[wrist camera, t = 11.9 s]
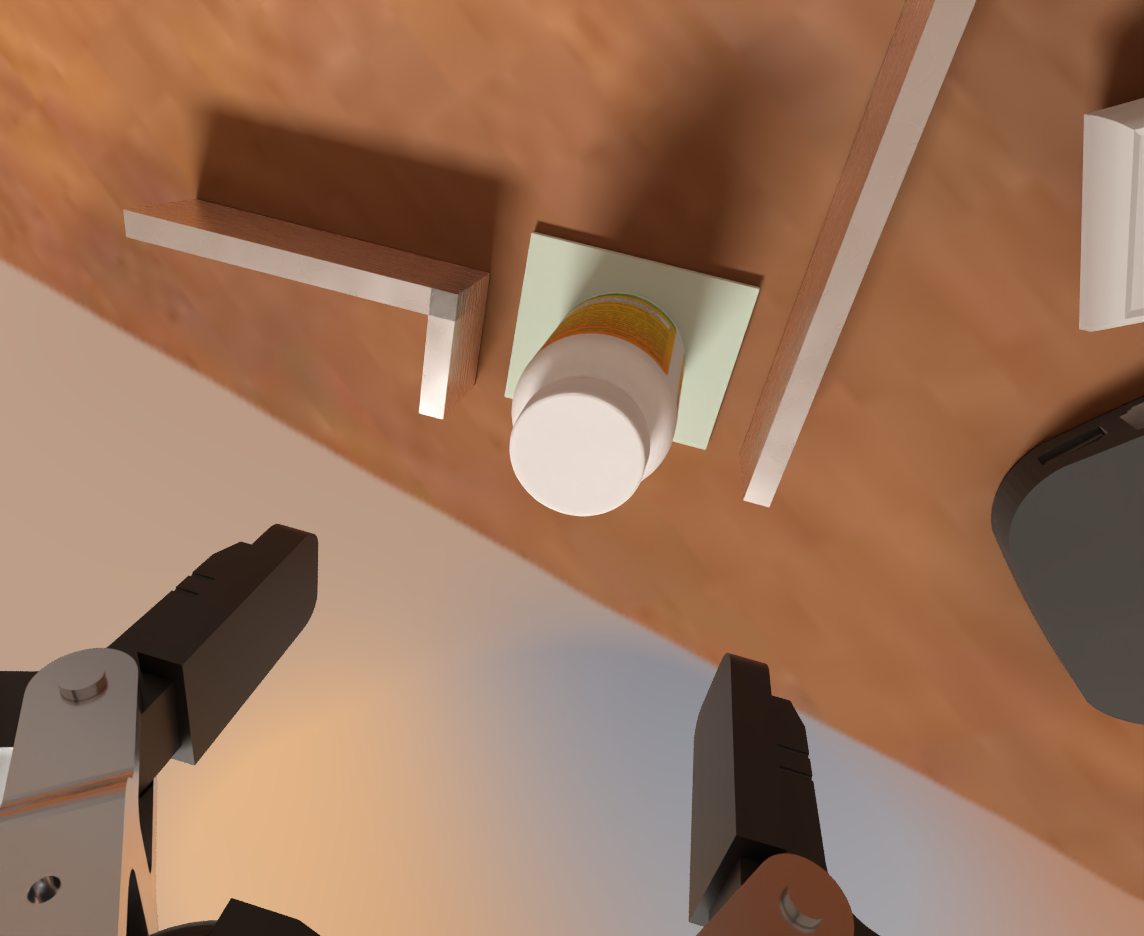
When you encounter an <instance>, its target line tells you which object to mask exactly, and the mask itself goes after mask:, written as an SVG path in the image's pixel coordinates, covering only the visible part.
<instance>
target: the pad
mask: <svg viewBox="0 0 1144 936" xmlns="http://www.w3.org/2000/svg"><path fill="white" fill-rule="evenodd" d="M759 290H760V289H759V287H757V286H753V285H749V284H745V283H741V282H737V281H733V280H729V279H725V278H720V277H716V276H712V275H708V274H704V273H700V272H696V271H692V270H688V269H684V268H680V267H676V266H672V265H668V264H664V263H660V262H656V261H651V260H647V259H643V258H639V257H635V256H631V255H627V254H623V253H619V252H615V251H611V250H607V249H603V248H599V247H595V246H591V245H586V244H582V243H578V242H574V241H570V240H566V239H562V238H558V237H554V236H550V235H546V234H542V233H538V232H532V233H531V239H530V245H529V251H528V257H527V264H526V270H525V276H524V282H523V288H522V294H521V300H520V306H519V312H518V318H517V324H516V330H515V336H514V343H513V349H512V355H511V361H510V367H509V373H508V379H507V385H506V391H505V397H507V398H511V399H513V396H514V392H515V389H516V386H517V383H518V381H519V379H520V377H521V375H522V373H523V371H524V370H525V368H526V366H527V365H528V364H529V362H530V361H531V360H532V359H533V357H534V356H535V355H536V354H537V352H538V351H539V350H540V348H541V347H542V346H543V345H544V344H545V342H546V341H547V340H548V338H549V337H550V336H551V334H552V333H553V332H554V331H555V329H556V328H557V327H558V325H559V324H560V323H561V322H562V320H563V319H564V318H565V316H566V315H567V314H568V313H569V312H570V311H571V310H572V309H573V308H575V307H576V306H577V305H578V304H580V303H581V302H583V301H584V300H586V299H588V298H590V297H592V296H595V295H598V294H602V293H607V292H628V293H633V294H637V295H640V296H642V297H645V298H647V299H649V300H651V301H652V302H654V303H655V304H657V305H658V306H659V307H660V308H662V309H663V310H664V311H665V312H666V313H667V314H668V315H669V317H670V318H671V319H672V320H673V322H674V323H675V325H676V327H677V328H678V330H679V333H680V335H681V338H682V341H683V346H684V356H685V366H684V376H683V382H682V388H681V395H680V402H679V410H678V418H677V425H676V430H675V434H674V437H673V441H674V442H677V443H681V444H685V445H689V446H693V447H696V448H700V449H704V450H706V447H707V444H708V441H709V438H710V435H711V432H712V429H713V426H714V423H715V420H716V417H717V414H718V411H719V409H720V406H721V403H722V400H723V397H724V394H725V391H726V388H727V385H728V382H729V379H730V376H731V373H732V370H733V367H734V364H735V361H736V358H737V355H738V352H739V349H740V346H741V343H742V340H743V337H744V334H745V331H746V328H747V325H748V322H749V319H750V317H751V314H752V311H753V308H754V305H755V302H756V299H757V296H758V293H759Z"/></svg>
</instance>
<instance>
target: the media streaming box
mask: <svg viewBox="0 0 1144 936" xmlns="http://www.w3.org/2000/svg"><path fill="white" fill-rule="evenodd" d="M991 523H992V530H993V532H994V535H995V537H996V539H997V542H998V544H999V546H1000V549H1001V551H1002V553H1003V556H1004V558H1005V560H1006V562H1007V564H1008V566H1009V569H1010V571H1011V573H1012V575H1013V577H1014V579H1015V581H1016V583H1017V585H1018V587H1019V589H1020V591H1021V593H1022V595H1023V597H1024V599H1025V601H1026V603H1027V604H1028V606H1029V608H1030V610H1031V612H1032V614H1033V616H1034V617H1035V619H1036V621H1037V623H1038V624H1039V626H1040V628H1041V630H1042V631H1043V633H1044V635H1045V636H1046V638H1047V640H1048V641H1049V643H1050V645H1051V646H1052V648H1053V650H1054V651H1055V653H1056V654H1057V656H1058V658H1059V659H1060V661H1061V662H1062V664H1063V665H1064V667H1065V668H1066V670H1067V671H1068V673H1069V674H1070V676H1071V678H1072V679H1073V681H1074V682H1075V684H1076V685H1077V687H1078V688H1079V690H1080V691H1081V693H1082V694H1083V696H1084V697H1085V699H1086V701H1087V702H1088V703H1089V704H1090V705H1092V706H1093V707H1094V708H1096V709H1097V710H1099V711H1101V712H1103V713H1105V714H1107V715H1109V716H1112V717H1115V718H1117V719H1121V720H1124V721H1128V722H1132V723H1137V724H1143V725H1144V397H1141V398H1139V399H1137V400H1135V401H1133V402H1130V403H1128V404H1126V405H1124V406H1121V407H1119V408H1117V409H1115V410H1112V411H1110V412H1108V413H1106V414H1104V415H1102V416H1099V417H1097V418H1095V419H1093V420H1091V421H1089V422H1086V423H1084V424H1082V425H1080V426H1078V427H1076V428H1074V429H1072V430H1070V431H1067V432H1065V433H1063V434H1061V435H1059V436H1057V437H1055V438H1053V439H1051V440H1049V441H1047V442H1045V443H1043V444H1041V445H1039V446H1038V447H1036V448H1035V449H1033V450H1032V451H1031V452H1029V453H1028V454H1027V455H1025V456H1024V457H1023V458H1022V459H1021V460H1020V461H1019V462H1018V463H1017V464H1016V465H1015V466H1014V467H1013V468H1012V469H1011V470H1010V472H1009V473H1008V474H1007V476H1006V477H1005V479H1004V480H1003V482H1002V483H1001V485H1000V487H999V489H998V491H997V493H996V496H995V499H994V502H993V507H992V514H991Z"/></svg>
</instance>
